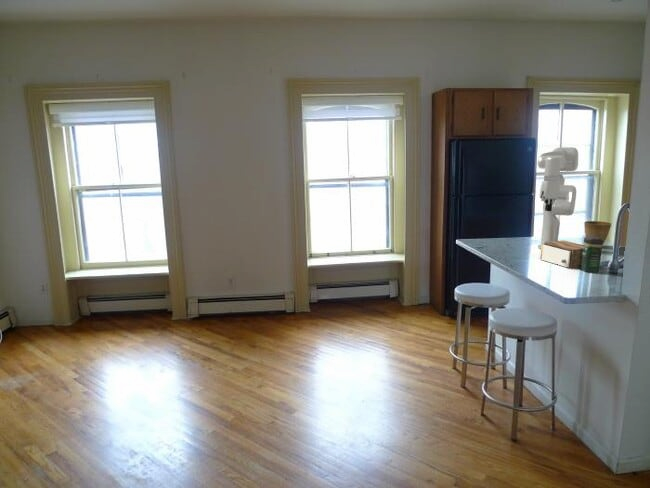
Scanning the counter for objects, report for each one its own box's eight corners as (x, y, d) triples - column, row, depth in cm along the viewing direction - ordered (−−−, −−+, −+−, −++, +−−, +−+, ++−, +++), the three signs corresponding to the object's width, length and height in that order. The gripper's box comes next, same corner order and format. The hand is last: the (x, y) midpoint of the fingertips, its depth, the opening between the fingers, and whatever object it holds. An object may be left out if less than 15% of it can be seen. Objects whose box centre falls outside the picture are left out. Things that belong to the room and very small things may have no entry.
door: (541, 258, 254) (542, 244, 252) (569, 267, 236) (570, 251, 234) (537, 259, 253) (539, 244, 251) (565, 267, 235) (567, 251, 233)
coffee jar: (601, 273, 225) (606, 238, 221) (584, 272, 227) (588, 237, 223) (594, 268, 235) (598, 234, 231) (578, 267, 236) (582, 234, 232)
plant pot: (598, 244, 293) (601, 220, 289) (613, 249, 278) (616, 224, 275) (576, 244, 293) (579, 220, 289) (590, 249, 278) (593, 224, 275)
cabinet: (561, 257, 257) (563, 240, 255) (591, 266, 239) (593, 247, 237) (542, 259, 253) (544, 242, 251) (571, 268, 235) (573, 249, 232)
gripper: (556, 177, 252) (553, 208, 257) (535, 178, 248) (532, 210, 252) (567, 178, 245) (563, 210, 250) (546, 180, 241) (542, 212, 245)
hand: (548, 210), depth 251 cm, fingers closed
